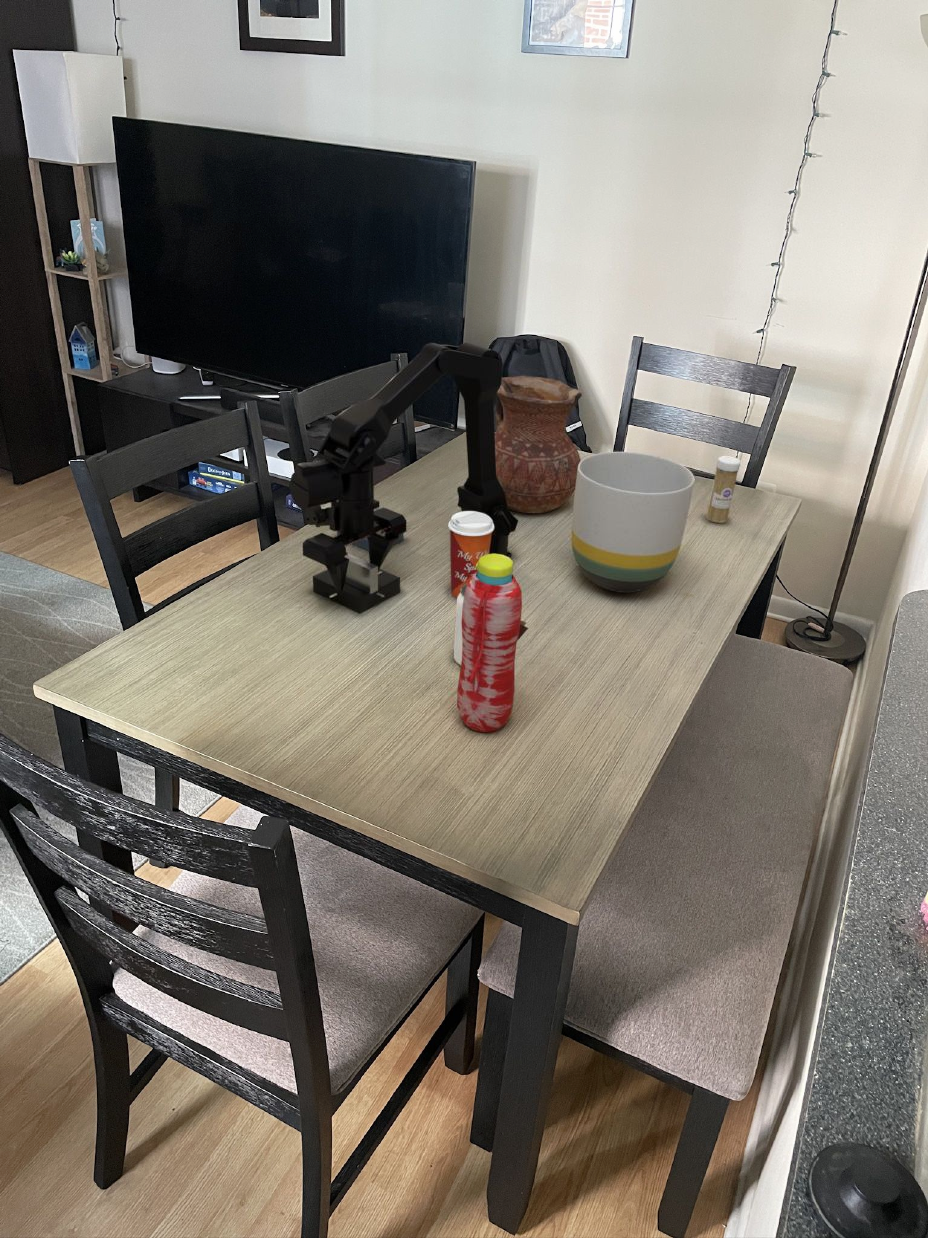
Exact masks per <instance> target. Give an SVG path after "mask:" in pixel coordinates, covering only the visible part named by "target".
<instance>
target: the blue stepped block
mask: <svg viewBox="0 0 928 1238" xmlns="http://www.w3.org/2000/svg"><path fill="white" fill-rule="evenodd" d="M378 509H379V508H376V510H378ZM404 533H405V532H404ZM404 533H402V534H399V539H397V540H396V541H395V543H394V545H397V544H399V543H401V542H403V541H404ZM339 535H340V534H339V531H336V536H339ZM352 545H354V546H356V547H359V548H360V549H363V550H365V551H368V552H369V542H368V540H367V538H365V539H362V540H360V541H358V542H356V543H353V544H352ZM394 545H393V546H394Z"/></svg>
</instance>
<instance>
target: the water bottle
mask: <svg viewBox="0 0 928 1238" xmlns="http://www.w3.org/2000/svg"><path fill="white" fill-rule="evenodd" d="M476 568H477V569H478V571H477V572H476V573H475V575H474V577H472V578H471V579H470V581H469V582H468V585H467V587H466V590H465V595H464V600H463V608H462V642H463V645H462V662H461V666H460V669H459V675H458V676H459V677H458V683H457V684H458V685H457V692H456V698H457V699H456V707H457V710H458V714H459V715H460V717H461V721H462V722H463V723H464V725H465V726H466V727H468V728H470V729H471V730H472V731H475V732H482V733H488V732H495V731H497V730H499V729H501V728H503V727H504V725H506V723H507V721H508V720H509V718H510V716H511V714H512V710H513V704H514V699H515V698H514V697H515V671H516V669H515V667H516V665H515V663H516V662H515V661H516V653H517V652H516V650H517V642H518V641H519V640H520V639H521V638H522V636H523V635H524V634H525V633H526V632H527V631H528V630H529V628H528V626H526V625H527V623H528V622H527V621H523V620H522V612H523V611H522V610H523V594H522V588H521V586H520V583H519V582H518V581H517V579H516V577H515V575H514V574H513V570H514V561H513V560H512V558H510V557H507V556H504V555H501V554H486V555H484V556H482V557H480V559H479V561H478V562H477V564H476Z"/></svg>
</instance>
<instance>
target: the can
mask: <svg viewBox="0 0 928 1238" xmlns="http://www.w3.org/2000/svg"><path fill="white" fill-rule="evenodd" d="M467 585H468V583H467V584H465V585H463V586H462V587H461V589H460V594H459V596H458V598H456V608H455V628H454V646H453V648H454V649H453V658H454V661H455V662H456V663H457V664H458V665H459V667H461V662H462V645H463V642H462V608H463V600H464V595H465V590H466V587H467Z"/></svg>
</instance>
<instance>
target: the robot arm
mask: <svg viewBox="0 0 928 1238" xmlns="http://www.w3.org/2000/svg"><path fill="white" fill-rule="evenodd" d="M503 371H504V360H503V357H502V355H501V354H500V353H499V352H498V351H496V350H494V349H490V348H488V347H485V346H482V345H479V344H475V343H472V342H469V341H465V342H463V343H461V344H459V345H457V346H456V345H450V344H438V343H434V342H430V343H427V344H425V345H423V347H422V348H420V352H419V353H418V354H417V355H416V356H415V357H414V358H413V359H412V360H411V361H409V363H408V364H407V365H405V366H404V367H403V368H402V369H401V370H400V371H399V372H398V373H397V374H395V376H393V377H392V378H391V380H389V381H388V382H387V383H386V384H385V385H384V386H383V387H381V389H379V390H378V391H377V392H376V393H375V394H374V395H373V396H372V397H370V398H368V399H367V400H364V401H362V402H359V403H356V404H353V405H351V406H350V407H348V408H347V409H345V410H343V411H342V412H341V413H339V414H338V415H336V416H335V417H334V418H333V420H332V422H331V423H330V425H329V426H330V429H329V431H328V433H327V435H326V437H325V438H324V439H323V442H322V443H321V445H320V447H319V448H318V451H317V452H316V457H317V458H318V460H314V461H310V462H301V463H297V464H296V465H295V472H293V473H292V474H291V477H290V480H289V482H288V487H289V492H290V496H291V499H292V500H293V503H294V504H295V506H296V507H297V508H298V509H299V510H304V517H305V521H306V523H307V524H308V526H314V527H315V528H321V527H328V528H329V530H330V531H332V532H337V531H339V534H340V535H339V536H337V535H336V536H334V537H333V536H331V535H328V534H326V533H323V532H320V533H318V534H315V535H313V536H312V537H309V538H306V539H305V540H304V541H303V542H302V556H303V557H305V558H308V559H310V560H311V561H314V562H317V563H319V564H321V565H323V566H325V567H326V570H328V572H329V574H330V576H331V578H332V581H333V583H334V585H335V588H336V589H337V590H338V591H342V590H343V587H344V584H345V579H346V574H347V569H348V564H349V559H348V558H346V557H345V555H346V552H347V548H346V547H349V546H351V545H354V544H353V543H356V542H358V541H360V540H362V539H365V538H367V540H368V542H369V551H368V553H369V554H368V555H369V556H368V557H369V563H371V564H374V565H376V566H378V571H379V569H381V567H382V565H383V563H384V562H385V560H386V558H387V556H388V554H389V553H390V551H391V549H392V548H393V546H394V543H395V541H396V540H397V539H399V534H402V533H406V532H407V523H408V521H407V519H406V518H405V516H404V515H403V514H402V513H400V512H396V511H394V510H392V509H389V508H386V507H381V508H380V500H377V499H375V468H377V467H380V466H384V465H386V464H387V461H386V460H385V459H384V458H383V457H381V456H380V455H379V454H378V451H379V450H380V448H381V447H382V446H383V444H384V443H385V442H386V441H387V440H388V438H389V435H390V432H391V428H392V425H394V423H395V421H396V420H397V419H398V418H399V417H400V416H401V415H402V414H404V413H405V412H406V411H407V410H408V409H409V408H410V407H411V406H412V405H414V403H415V402H417V400H418V399H419V398H420V397H422V396H423V395H424V394H425V393H426V392H427V391H428V390H429V389H430V388H431V387H432V386H433V385H434V384H436V382H438V380H440V379H441V378H442V377H443V376H444V375H445V374H448V375H449V374H450V375H452V376H453V381H454V383H455V387H457V389H458V391H459V393H460V395H461V397H462V399H463V405H464V421H465V423H464V424H465V438H466V455H467V456H466V457H467V458H466V459H467V472H468V473H467V474H468V476H467V478H466V480H465V481H464V484H463V485H460V486H458V487H457V489H456V491H457V496H458V502H457V507H458V508H460V512H463V511H476V512H480V513H484V514H486V515H488V516H489V517H490V518H491V519H492V521H493V524H494V530H493V531H492V535H491V542H490V550H489V554H501V555H504V556H507V557H509V558H510V557H512V554H513V553H512V552H511V551H509V550H508V547H509V536H510V535H511V533H514V532H516V529H517V526H518V523H519V519H518V518H517V517H515V516H514V514H513V513H511V511H510V509H508V506H507V500H506V495H505V491H504V489H503V488H502V486H501V484H500V482H499V480H498V478H497V475H496V454H495V432H496V431H495V429H496V428H495V406H494V405H495V404H494V401H495V397H496V396H497V392H498V390H499V388H500V386H501V382H502V378H503ZM338 449H340V450H341V451H343V452H344V453H345V452H346V453H347V454H348V456H345V455H343V454H342V453H340V452H338V451H337V450H338ZM376 508H378V510H376V511H374V509H376Z"/></svg>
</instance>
